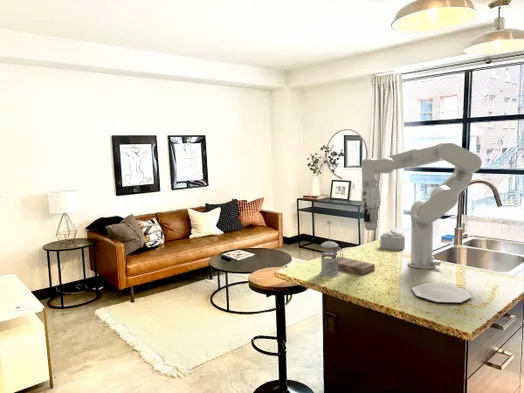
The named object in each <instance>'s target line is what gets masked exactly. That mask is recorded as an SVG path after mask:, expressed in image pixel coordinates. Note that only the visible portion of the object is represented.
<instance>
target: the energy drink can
mask: <svg viewBox="0 0 524 393" xmlns="http://www.w3.org/2000/svg"><path fill="white" fill-rule="evenodd" d="M366 207H367V206H366ZM366 210H368V209H366ZM369 214H370V222H364V229H365V230H366V231H376V230H377V228H378V220H377V203H375V207H374V208H370V212H369Z"/></svg>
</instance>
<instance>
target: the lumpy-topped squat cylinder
mask: <svg viewBox="0 0 524 393" xmlns="http://www.w3.org/2000/svg"><path fill="white" fill-rule="evenodd" d="M379 237H380V240H379V241H380V243H379V244H380V246H379V247H381V248H380V249H383V250H392V251H400V249H403V250H405V248H406V246H405V245H406V241H405V240H406V238H405V235H404V234H402V233H400V232H396V231H392V232H391V231H386V232H384V233H382V234H380V236H379Z"/></svg>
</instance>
